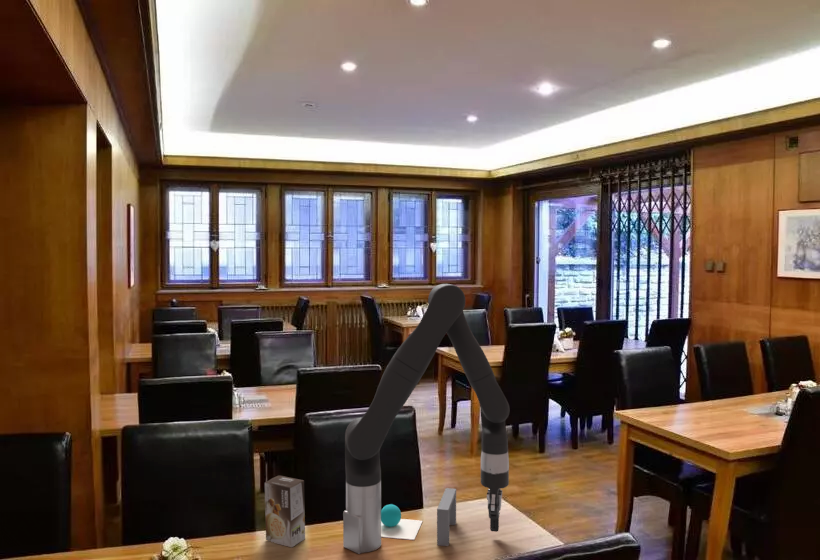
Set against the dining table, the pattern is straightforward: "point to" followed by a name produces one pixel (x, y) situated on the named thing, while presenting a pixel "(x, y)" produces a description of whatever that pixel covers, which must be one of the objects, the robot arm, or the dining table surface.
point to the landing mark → (402, 529)
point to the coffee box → (285, 510)
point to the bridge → (446, 516)
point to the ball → (390, 515)
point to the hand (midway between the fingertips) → (494, 530)
